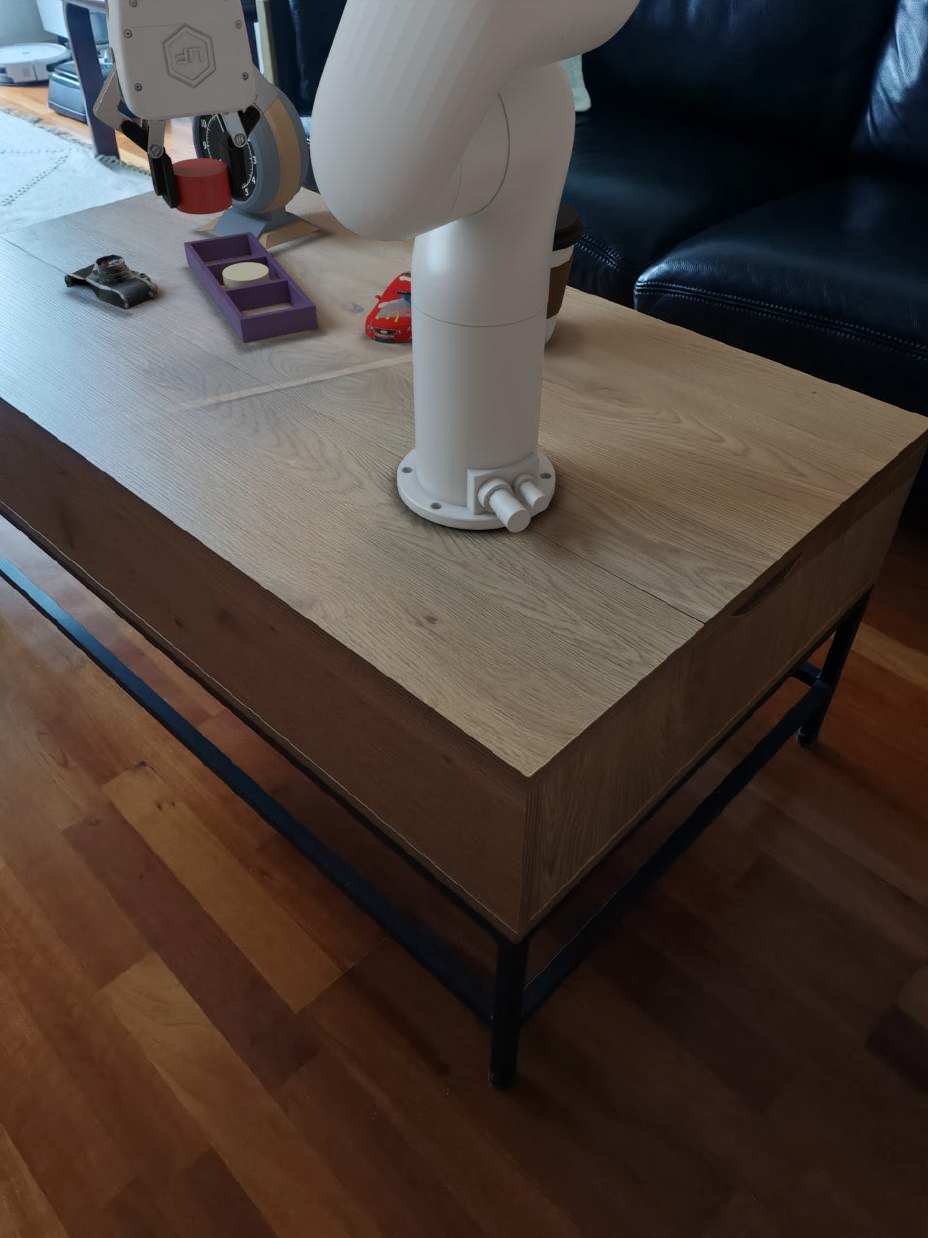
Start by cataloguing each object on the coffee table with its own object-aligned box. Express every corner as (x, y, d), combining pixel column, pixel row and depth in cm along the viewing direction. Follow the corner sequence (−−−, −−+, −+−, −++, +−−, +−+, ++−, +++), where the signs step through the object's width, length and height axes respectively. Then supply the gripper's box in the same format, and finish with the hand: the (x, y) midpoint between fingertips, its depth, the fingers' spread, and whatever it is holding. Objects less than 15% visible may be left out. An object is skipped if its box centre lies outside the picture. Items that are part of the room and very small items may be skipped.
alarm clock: (193, 229, 119) (163, 67, 107) (254, 208, 124) (232, 51, 112) (271, 259, 112) (249, 89, 100) (332, 235, 117) (318, 72, 106)
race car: (408, 354, 95) (407, 315, 92) (357, 345, 96) (354, 306, 93) (454, 299, 104) (454, 263, 101) (407, 292, 105) (406, 255, 103)
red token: (239, 209, 82) (235, 172, 80) (183, 218, 80) (177, 180, 78) (222, 191, 85) (217, 154, 83) (168, 199, 83) (161, 162, 81)
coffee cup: (447, 346, 96) (446, 222, 88) (493, 304, 103) (496, 187, 95) (549, 370, 92) (558, 243, 84) (589, 325, 100) (601, 204, 92)
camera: (103, 276, 108) (94, 238, 105) (165, 300, 103) (158, 261, 101) (65, 291, 105) (55, 252, 102) (127, 316, 100) (118, 277, 98)
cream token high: (276, 286, 102) (274, 275, 101) (231, 294, 100) (229, 283, 99) (262, 270, 105) (260, 259, 104) (218, 277, 103) (217, 266, 102)
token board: (318, 333, 98) (315, 305, 96) (244, 349, 95) (239, 320, 93) (254, 257, 112) (250, 231, 110) (188, 268, 110) (183, 242, 108)
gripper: (48, -49, 64) (110, 229, 77) (291, -62, 70) (313, 197, 83) (29, -65, 69) (90, 198, 81) (258, -76, 75) (283, 171, 87)
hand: (202, 195), depth 82 cm, fingers closed on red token, 4 cm apart
